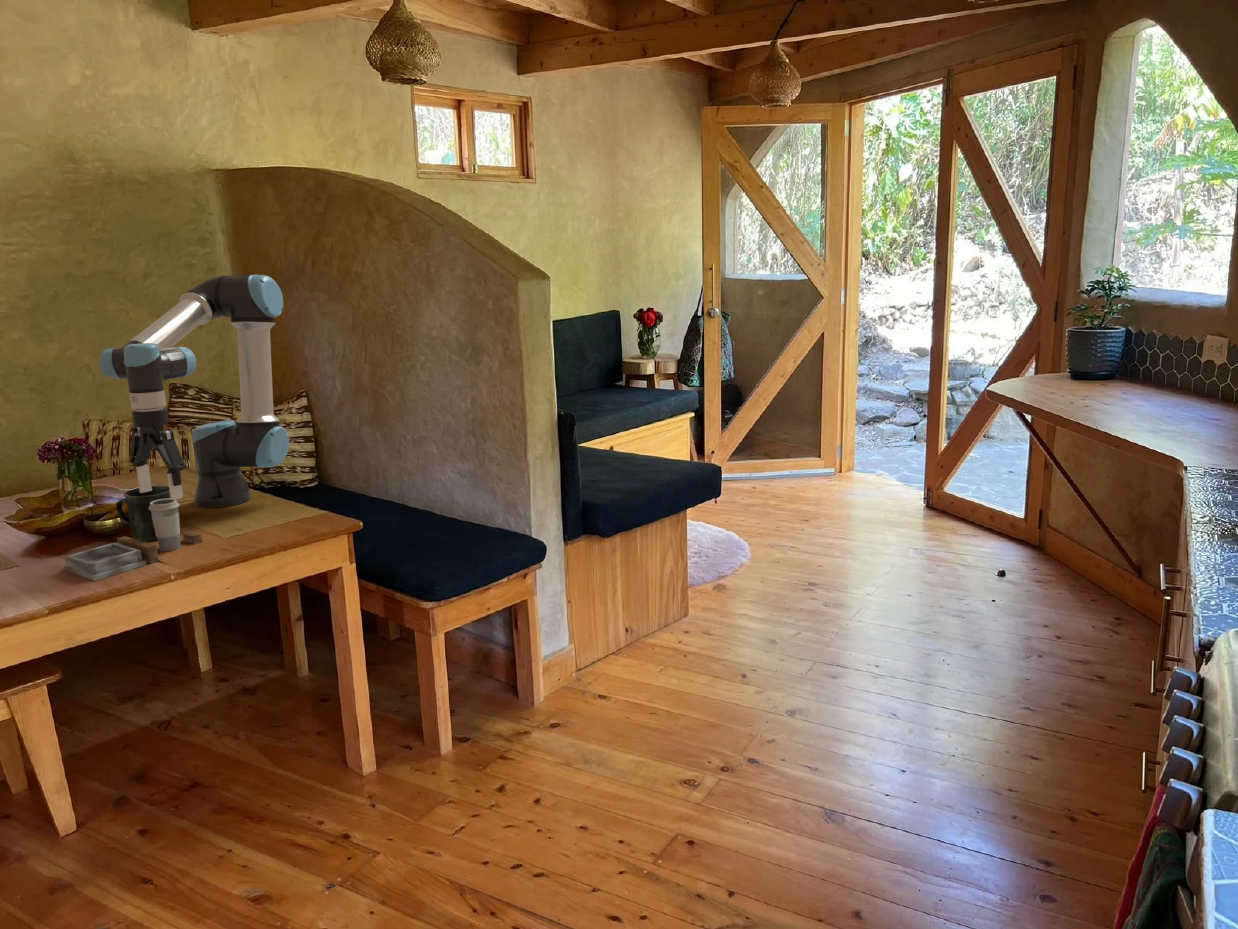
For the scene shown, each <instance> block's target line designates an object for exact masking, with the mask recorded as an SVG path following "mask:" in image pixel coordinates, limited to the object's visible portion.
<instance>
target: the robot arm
mask: <svg viewBox="0 0 1238 929" xmlns="http://www.w3.org/2000/svg"><path fill="white" fill-rule="evenodd" d="M283 309H284V297H283V293H282V290H281V288H280V286H279V285H278V284H277V282H276V281H275V280H274V278H272V277H271V276H269V275H265V274H243V275H242V274H241V275H239V274H238V275H237V274H235V275H216V276H214V277H210V278H208V279H206V280H204V281H201V282H200V283H198V284H197V285H195V286H193V287H192V288H190V289H188V290H187V291H186V292H185V293H183V294H182V295H181V296H180V298H179V300H178V303H177V304H175V306H173V307H172V308H170V309H169V310H168V311H166V313H164V314H163V315H162V316H160V317H159V318H158V319H156V320H155V321H153V323H151V324H150V325H148V326H147V327H146V328H144V329H143V330H142V331H141V332H139V333H138V334H137V335H136V336H135V337H133V338H132V339H130V340H129V341H128V342H126V343H125V344H124V345H122V346H121V347H119V348H117V347H113V348H106V349H104V350H103V351H102V352H101V354H100V355H99V359H98V365H99V368H100V371H101V372H102V374H103V375H105V377H107V378H109V379H120V380H125V379H126V380H127V385H128V394H129V398H128V400H129V401H130V407H131V409H132V412H131V415H132V422H133V426H134V427H132V428H131V431H132V432H131V434H132V437H131V438H132V439H131V444H130V453H129V463H130V464H133V466H134V467H135V468H136V476H137V482H138V488H139V490H140V493H144V492H148V491H152V486H153V485H152V480H151V473H150V467H149V462H148V459H149V456H150V454H151V450H152V449H154V451H156V452H158V454H159V456H160V458H161V460H162V461H163V463H164V465H165V466H166V468H167V471H166V474H167V481H168V487H169V490H170V497H171V500H175V499H176V500H178V499H182V498H184V492H183V487H182V486H183V485H182V477H181V476H182V475H181V472H182V471H184V470H186V464H185V462H184V459H183V457H182V454H181V452H180V450H179V447H178V444H177V443H176V440H175V434H174V431H173V430H172V429H169V430H165V428H164V426H165V425H168V423H169V413H168V409H167V408H165V407H166V406H167V400H166V391H165V387H164V386H165V385H164V381H168V380H174V379H179V378H180V379H182V378H184V377H187V376H190V375H192V374H193V373H194V372H195V371H196V369H197V368H196V367H197V357H196V355H195V353H194V352H193V351H192V350H191V349H189V348H188V347H185V346H175V345H177V344H178V343H179V342H180V341H181V340H183V339H184V338H185V337H186V336H187V335H189V334H190V333H191V332H192V331H193V330H195V329H196V328H197V327H198V326H200V325H201V326H203V325H206V324H208V323H209V322H211V321H212V320H215V319H221V318H230V324H231V325H232V326H233V327H234V328H235V329H236V330H237V331H236V333H237V347H238V348H237V350H238V351H237V352H238V354H237V355H238V374H239V377H238V378H239V395H240V413H241V414H240V416H239V417H238V418H237V419H236V420H233V419H232V420H220V421H215V422H210V423H205V424H203V425H199V426H197V427H195V428H194V429H193V430H192V442H191V443H192V446H193V452H194V458H195V465H196V472H197V483H196V487H195V492H194V496H193V497H194V505H195V506H196V507H200V508H208V509H209V508H210V509H211V508H223V507H230V506H234V505H239V504H242V503H244V502H247V501H250V500H251V498H252V496H251V495H252V494H251V489H250V487H249V485H248V483H247V481H246V480H245V478H244V475H243V474H242V468H260V469H266V468H275V467H278V466H279V465H281V464H282V463H283V462H284V461H285V458H286V457H287V456H288V455H287V454H288V452H289V448H290V437H289V433H288V431H287V429H286V428H284V427H283V426H281V425H280V419H279V418H278V417H277V416H276V415H275V414H274V395H273V392H274V391H273V373H272V371H273V370H272V351H271V350H272V344H271V329H272V328H273V327H274V326H275V325H276V318H277V317H279V316H280V315H281V314H282V313H283Z"/></svg>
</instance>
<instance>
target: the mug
mask: <svg viewBox="0 0 1238 929" xmlns="http://www.w3.org/2000/svg"><path fill="white" fill-rule="evenodd" d="M151 486H152V491H148V492H144V493H140V490H139V487H137V488H133V489H130V490H127V491H126V492H124V493H123V497H124V498H123V499H119V500H118V501H117V502H116V504H115V505H116V507H115V508H116V511H117V512H116V513H117V515H118V518H120V520H121V521H122V522H123V523H124V524H126V525H128V526H129V527H130V531H131V538H133V539H137V540H140V541H144V542H147V541H148V542H150V541H156V540H157V541H158V539H157V537H156V533H155V529H154V524H153V520H152V516H151V515H152V513H151V510H149V509H148V508H149V506H150V502H152V501H155V500H159V499H166V498H171V497H170V490H169V485H168V486H167V485H151ZM123 503H126V506H127V513H128V517H127V515H126V514H125V511H124V509H123Z"/></svg>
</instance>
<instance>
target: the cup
mask: <svg viewBox="0 0 1238 929" xmlns="http://www.w3.org/2000/svg"><path fill="white" fill-rule="evenodd" d="M177 500H178V499H175V500H171V498H166V499H159V500H155V501H152V502H150V506H149V508H148V509H149V510H151V513H152V515H151V516H152V520H153V524H154V529H155V533H156V537H157V539H158V540H157V541H158V547H159V550H160V551H161V552H170V551H174V550H175V551H176V550H178V549H180V548H181V538H180V537H181V536H180V535H181V527H180V526H181V525H180V512H179V509H178V507H180V503H179V502H178V501H177Z"/></svg>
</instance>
